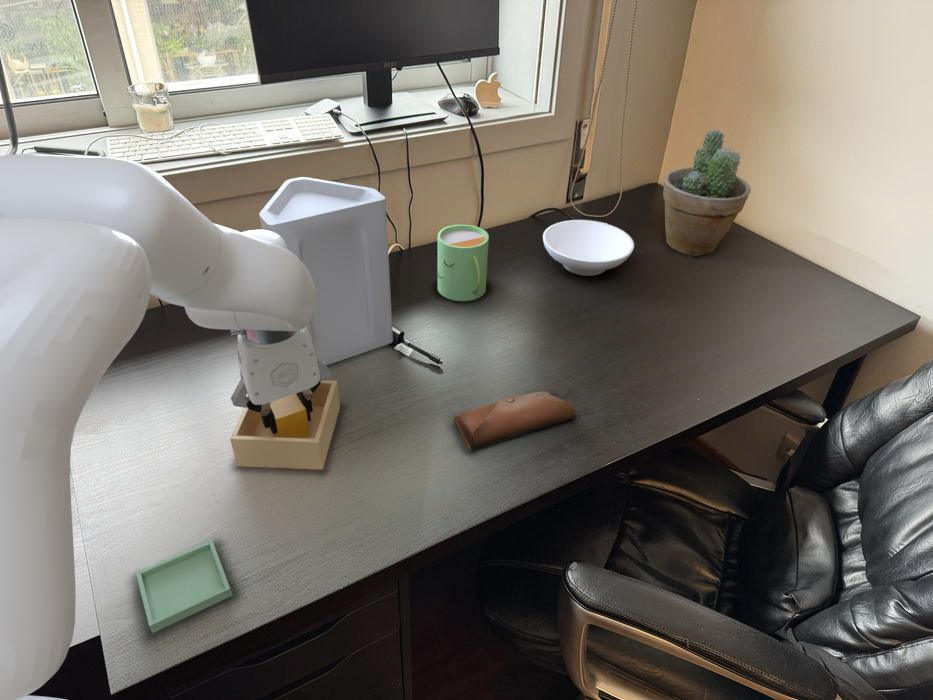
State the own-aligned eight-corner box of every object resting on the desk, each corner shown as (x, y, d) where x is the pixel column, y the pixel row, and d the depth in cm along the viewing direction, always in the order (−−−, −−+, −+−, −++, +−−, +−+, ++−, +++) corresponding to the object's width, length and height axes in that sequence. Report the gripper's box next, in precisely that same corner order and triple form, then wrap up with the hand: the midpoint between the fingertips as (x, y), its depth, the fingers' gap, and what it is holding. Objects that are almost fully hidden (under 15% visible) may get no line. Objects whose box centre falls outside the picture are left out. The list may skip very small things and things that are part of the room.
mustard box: (281, 446, 94) (276, 419, 91) (271, 428, 97) (265, 401, 94) (310, 435, 96) (306, 408, 93) (299, 418, 99) (295, 391, 96)
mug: (428, 282, 134) (427, 230, 127) (472, 271, 138) (474, 220, 131) (454, 312, 125) (455, 258, 118) (500, 300, 129) (504, 247, 122)
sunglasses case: (547, 387, 107) (562, 373, 101) (564, 426, 105) (580, 414, 99) (449, 417, 101) (459, 403, 95) (465, 458, 99) (475, 447, 93)
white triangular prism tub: (359, 303, 127) (347, 167, 110) (394, 341, 117) (387, 198, 100) (265, 332, 118) (237, 189, 101) (295, 376, 108) (268, 225, 91)
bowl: (523, 256, 144) (525, 229, 140) (593, 240, 152) (597, 213, 147) (572, 298, 130) (576, 269, 126) (647, 278, 138) (653, 250, 134)
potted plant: (746, 260, 146) (782, 153, 131) (673, 267, 142) (701, 158, 127) (705, 224, 160) (733, 124, 145) (637, 230, 156) (658, 128, 141)
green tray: (152, 633, 72) (148, 626, 71) (138, 579, 77) (135, 572, 76) (232, 595, 76) (230, 588, 75) (214, 546, 81) (212, 539, 80)
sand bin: (322, 470, 92) (318, 442, 88) (237, 466, 92) (229, 438, 89) (340, 407, 102) (336, 380, 99) (263, 404, 103) (257, 377, 99)
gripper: (212, 357, 78) (240, 459, 89) (340, 318, 86) (351, 417, 97) (197, 326, 83) (225, 427, 94) (319, 292, 91) (331, 389, 102)
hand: (288, 421), depth 95 cm, fingers closed on mustard box, 4 cm apart
